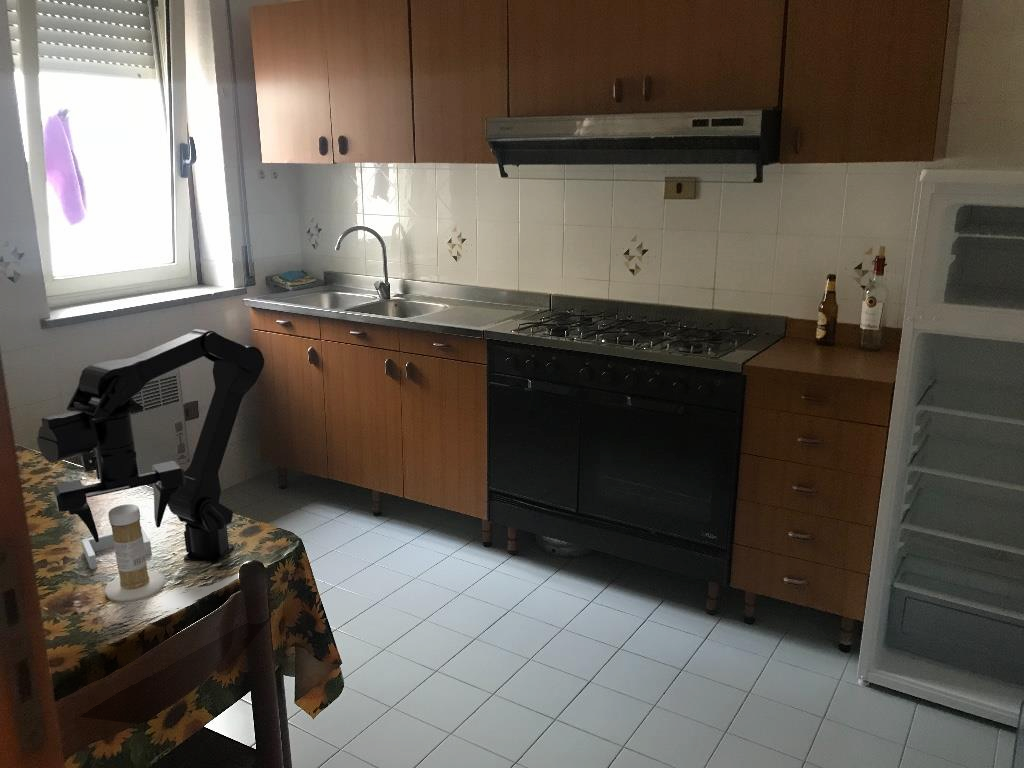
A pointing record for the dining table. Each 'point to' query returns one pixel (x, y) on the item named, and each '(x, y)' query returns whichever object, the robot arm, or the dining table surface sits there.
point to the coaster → (128, 595)
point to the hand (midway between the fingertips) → (128, 533)
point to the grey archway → (106, 546)
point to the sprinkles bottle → (129, 546)
